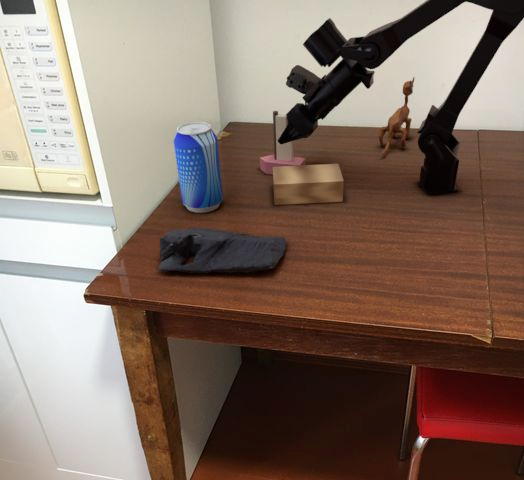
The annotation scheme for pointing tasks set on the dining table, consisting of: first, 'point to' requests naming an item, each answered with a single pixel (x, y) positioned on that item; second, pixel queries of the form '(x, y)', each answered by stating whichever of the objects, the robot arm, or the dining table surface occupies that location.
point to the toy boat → (280, 148)
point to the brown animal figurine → (398, 120)
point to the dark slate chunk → (219, 251)
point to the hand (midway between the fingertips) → (286, 135)
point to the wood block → (307, 184)
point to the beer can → (198, 167)
